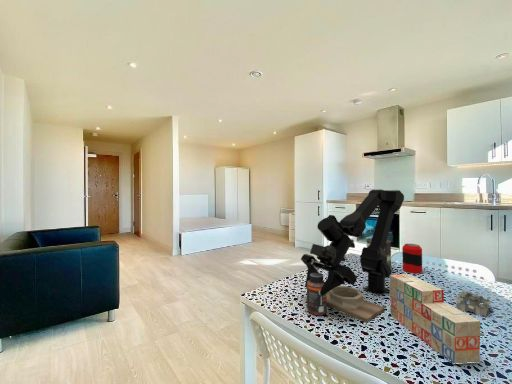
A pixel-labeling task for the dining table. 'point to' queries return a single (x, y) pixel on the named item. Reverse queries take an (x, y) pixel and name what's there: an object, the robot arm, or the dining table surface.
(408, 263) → the soda can
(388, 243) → the coffee can
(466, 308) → the egg carton
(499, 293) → the dining table surface
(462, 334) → the stack of blocks
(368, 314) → the collar board
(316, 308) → the supplement bottle
